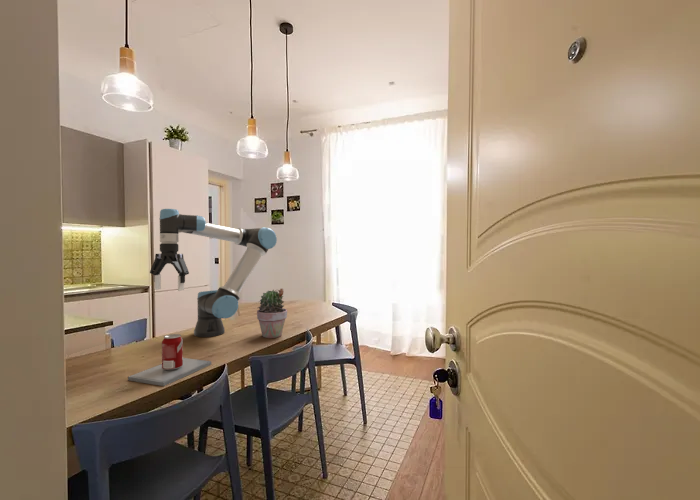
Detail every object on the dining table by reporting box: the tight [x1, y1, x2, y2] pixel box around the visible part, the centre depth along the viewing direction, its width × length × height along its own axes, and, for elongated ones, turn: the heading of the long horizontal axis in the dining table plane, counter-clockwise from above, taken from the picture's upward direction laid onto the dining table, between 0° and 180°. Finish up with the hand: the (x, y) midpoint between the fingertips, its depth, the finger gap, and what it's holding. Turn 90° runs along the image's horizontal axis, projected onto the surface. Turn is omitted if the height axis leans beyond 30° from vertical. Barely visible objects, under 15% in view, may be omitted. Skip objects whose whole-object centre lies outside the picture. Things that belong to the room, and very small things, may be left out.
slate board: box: [127, 357, 212, 387], centre depth 123 cm, size 22×16×1 cm
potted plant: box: [253, 288, 288, 339], centre depth 175 cm, size 18×20×25 cm
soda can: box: [161, 333, 184, 371], centre depth 123 cm, size 7×7×12 cm
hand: (169, 289), depth 151 cm, fingers open, 13 cm apart
